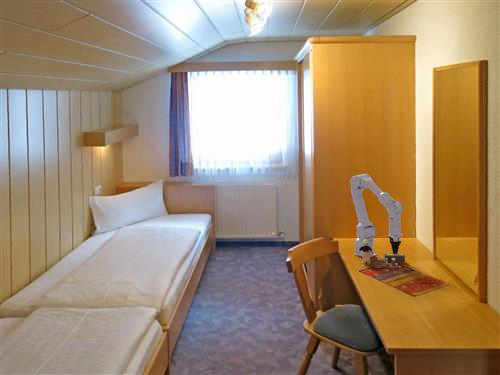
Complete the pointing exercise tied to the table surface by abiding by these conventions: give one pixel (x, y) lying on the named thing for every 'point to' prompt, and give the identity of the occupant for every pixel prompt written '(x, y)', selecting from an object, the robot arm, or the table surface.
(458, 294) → the table surface
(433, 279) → the table surface
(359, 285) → the table surface
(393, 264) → the stand
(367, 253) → the grandmother figurine
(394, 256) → the bar
